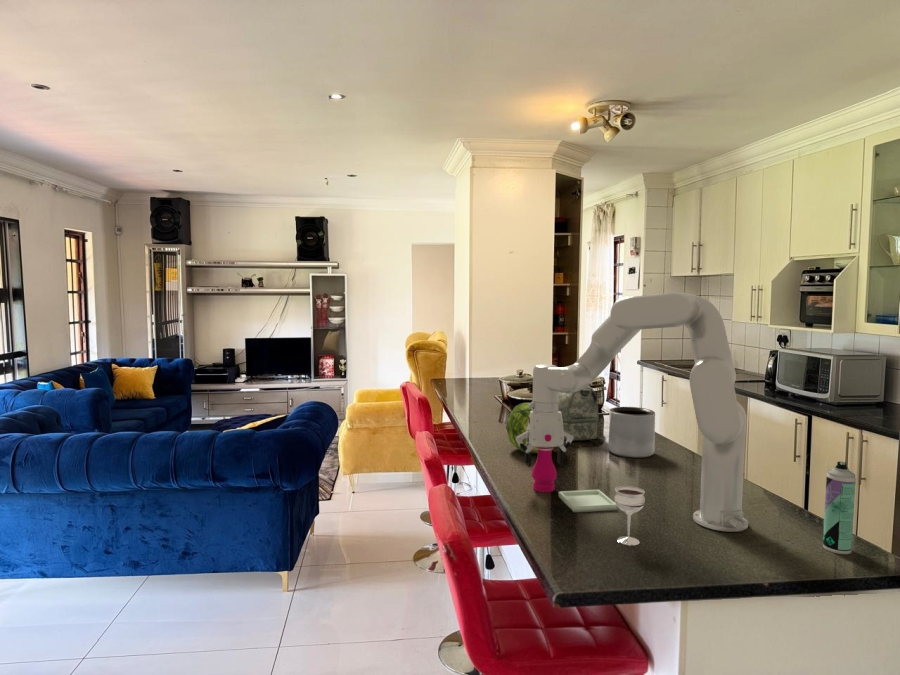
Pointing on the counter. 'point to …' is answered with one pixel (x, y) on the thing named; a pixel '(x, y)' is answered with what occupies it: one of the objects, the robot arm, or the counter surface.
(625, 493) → the wineglass
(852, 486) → the spray can
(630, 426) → the planter
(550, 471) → the pepper mill
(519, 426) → the lettuce
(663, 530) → the counter surface
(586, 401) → the lunch bag
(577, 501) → the tray
